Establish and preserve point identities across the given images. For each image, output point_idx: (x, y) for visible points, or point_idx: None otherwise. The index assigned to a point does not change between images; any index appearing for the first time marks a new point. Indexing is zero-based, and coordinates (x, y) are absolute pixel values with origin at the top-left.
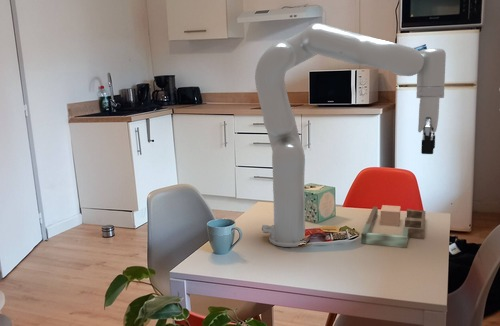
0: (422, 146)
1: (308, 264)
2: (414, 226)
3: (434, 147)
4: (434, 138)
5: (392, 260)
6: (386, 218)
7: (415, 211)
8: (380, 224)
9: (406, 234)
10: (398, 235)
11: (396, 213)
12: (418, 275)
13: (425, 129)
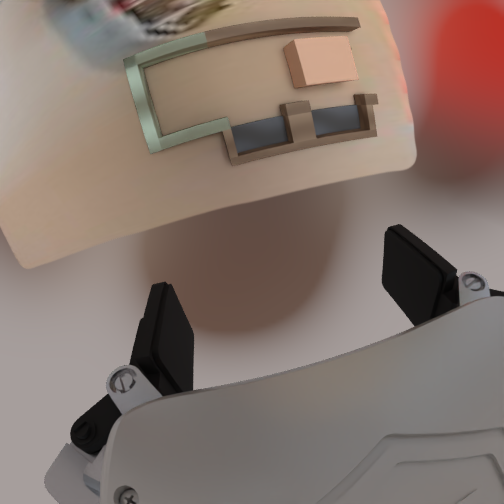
0: (147, 321)
1: (10, 67)
2: (287, 126)
3: (387, 286)
4: (415, 325)
5: (83, 158)
6: (292, 57)
7: (367, 114)
8: (283, 48)
9: (172, 144)
10: (155, 131)
11: (303, 78)
12: (60, 220)
13: (53, 467)
